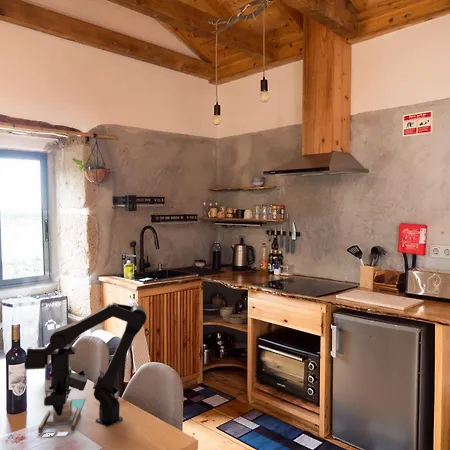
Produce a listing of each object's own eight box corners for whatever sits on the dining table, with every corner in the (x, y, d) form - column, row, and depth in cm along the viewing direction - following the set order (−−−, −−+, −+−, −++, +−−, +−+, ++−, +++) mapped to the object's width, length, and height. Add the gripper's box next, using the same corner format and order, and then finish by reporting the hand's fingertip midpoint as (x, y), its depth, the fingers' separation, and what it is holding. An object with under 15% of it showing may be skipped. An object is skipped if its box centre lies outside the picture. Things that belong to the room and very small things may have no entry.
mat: (80, 411, 146) (80, 410, 146) (50, 413, 145) (50, 412, 145) (85, 399, 156) (85, 398, 156) (56, 400, 154) (56, 399, 154)
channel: (72, 435, 130) (72, 429, 130) (36, 438, 128) (36, 431, 128) (80, 414, 144) (80, 408, 144) (47, 416, 143) (47, 410, 142)
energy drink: (50, 395, 159) (51, 363, 159) (42, 392, 162) (42, 361, 162) (63, 390, 163) (63, 359, 163) (54, 387, 166) (54, 357, 166)
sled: (72, 423, 137) (72, 408, 137) (46, 425, 135) (46, 409, 135) (77, 409, 147) (78, 395, 146) (53, 410, 145) (53, 396, 145)
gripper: (82, 376, 129) (81, 427, 129) (89, 357, 147) (88, 401, 148) (43, 378, 127) (43, 430, 127) (55, 358, 145) (55, 403, 145)
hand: (59, 415), depth 137 cm, fingers closed
